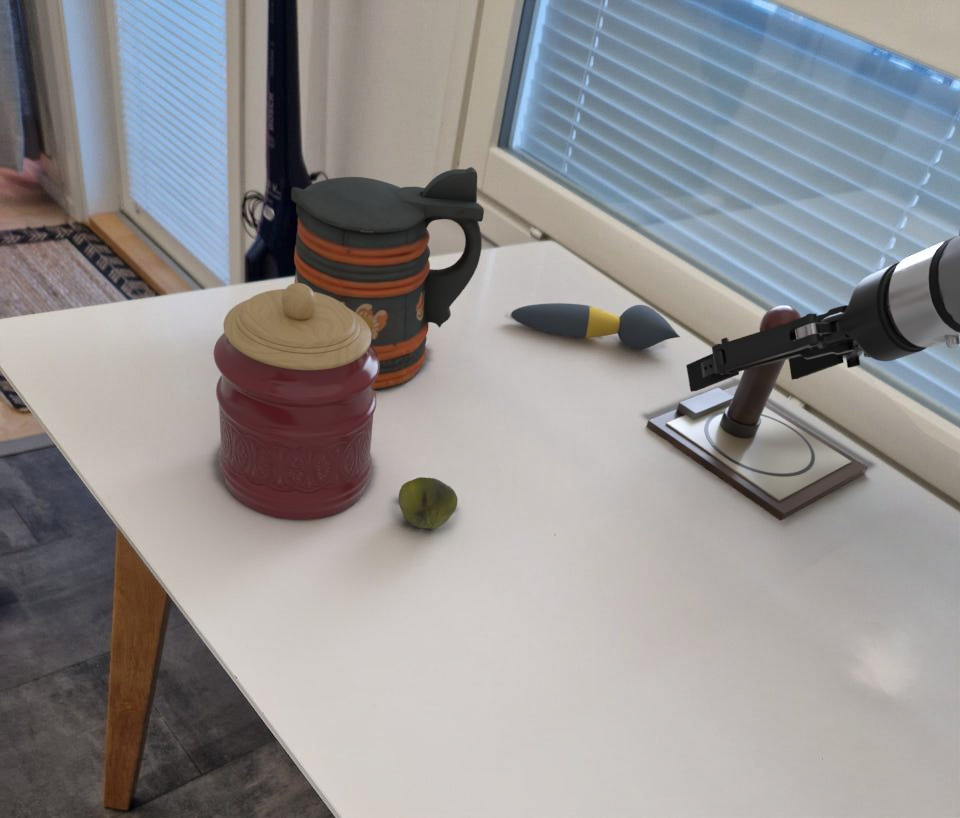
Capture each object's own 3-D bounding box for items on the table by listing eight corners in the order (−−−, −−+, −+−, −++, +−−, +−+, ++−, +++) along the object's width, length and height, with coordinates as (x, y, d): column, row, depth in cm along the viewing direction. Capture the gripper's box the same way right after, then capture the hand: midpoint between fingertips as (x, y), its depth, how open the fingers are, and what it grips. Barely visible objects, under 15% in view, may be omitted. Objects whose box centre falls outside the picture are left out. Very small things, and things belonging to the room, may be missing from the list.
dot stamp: (763, 432, 96) (817, 313, 87) (741, 442, 94) (794, 321, 85) (734, 413, 98) (784, 294, 89) (712, 423, 96) (760, 302, 86)
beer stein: (445, 325, 104) (472, 138, 90) (476, 394, 94) (511, 197, 80) (278, 319, 98) (278, 120, 84) (293, 392, 89) (296, 181, 75)
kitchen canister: (377, 523, 77) (396, 333, 65) (221, 524, 74) (209, 323, 61) (361, 436, 86) (375, 253, 73) (220, 433, 82) (209, 241, 70)
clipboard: (864, 473, 96) (872, 459, 95) (781, 520, 87) (788, 505, 86) (734, 390, 104) (740, 377, 103) (645, 426, 95) (650, 411, 94)
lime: (388, 515, 78) (394, 468, 75) (436, 503, 80) (443, 457, 77) (413, 546, 76) (420, 499, 72) (461, 533, 78) (470, 486, 75)
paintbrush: (510, 339, 104) (518, 297, 100) (508, 318, 107) (516, 278, 104) (674, 363, 106) (687, 323, 103) (667, 342, 110) (680, 303, 106)
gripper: (810, 362, 70) (651, 421, 89) (1019, 339, 80) (836, 396, 99) (795, 264, 69) (639, 345, 89) (1008, 253, 79) (826, 328, 99)
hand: (743, 372), depth 94 cm, fingers open, 13 cm apart
